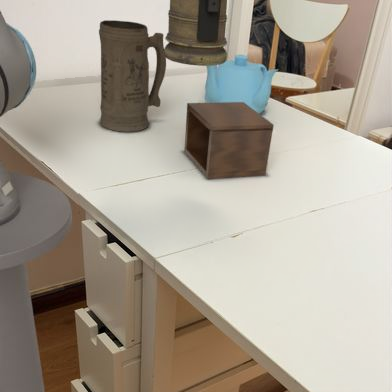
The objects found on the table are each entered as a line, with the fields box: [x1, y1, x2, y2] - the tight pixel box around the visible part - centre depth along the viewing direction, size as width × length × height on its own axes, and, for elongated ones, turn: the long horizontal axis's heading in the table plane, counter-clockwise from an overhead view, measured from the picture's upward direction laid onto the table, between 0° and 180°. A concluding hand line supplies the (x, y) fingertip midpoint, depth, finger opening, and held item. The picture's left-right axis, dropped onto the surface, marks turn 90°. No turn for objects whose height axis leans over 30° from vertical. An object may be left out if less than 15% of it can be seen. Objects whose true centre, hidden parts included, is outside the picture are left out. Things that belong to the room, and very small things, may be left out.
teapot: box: [204, 54, 279, 115], centre depth 131 cm, size 17×19×12 cm
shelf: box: [184, 102, 275, 180], centre depth 103 cm, size 12×14×10 cm
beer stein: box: [98, 19, 167, 133], centre depth 114 cm, size 15×11×20 cm
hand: (196, 32), depth 74 cm, fingers closed on container, 8 cm apart
